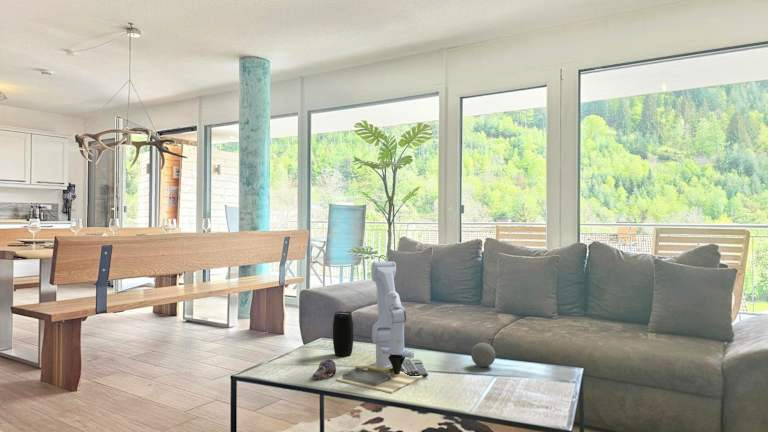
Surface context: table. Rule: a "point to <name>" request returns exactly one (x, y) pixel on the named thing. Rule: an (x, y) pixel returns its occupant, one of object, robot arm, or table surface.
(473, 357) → the decorative ball
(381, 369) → the loose leaf
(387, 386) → the board
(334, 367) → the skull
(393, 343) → the robot arm
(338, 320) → the portable speaker
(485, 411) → the table surface
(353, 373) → the fixed leaf
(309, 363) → the table surface
